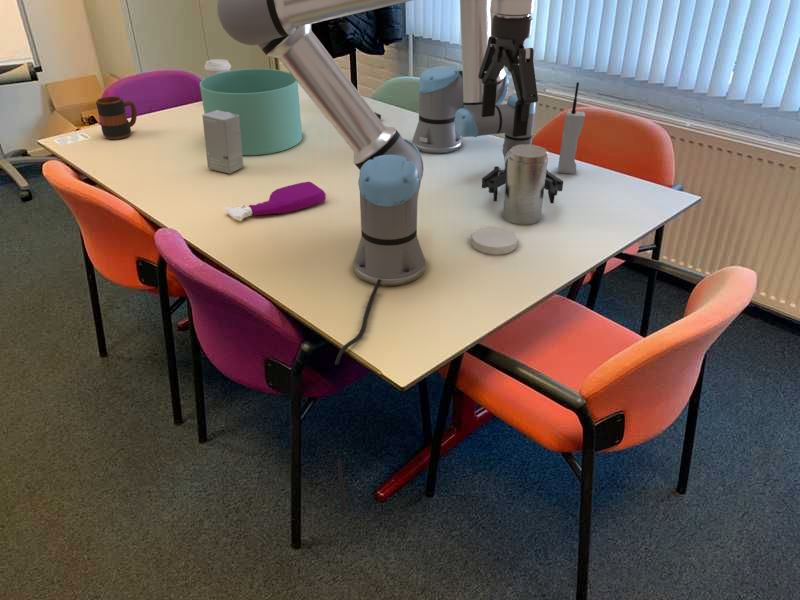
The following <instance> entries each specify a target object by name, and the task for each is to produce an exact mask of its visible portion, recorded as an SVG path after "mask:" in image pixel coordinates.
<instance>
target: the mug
mask: <svg viewBox="0 0 800 600" xmlns="http://www.w3.org/2000/svg"><path fill="white" fill-rule="evenodd" d="M95 103H96V108H97V113H98V116H99V118H100V127H101V132H102V136H104V138H105V139H108V140H122V139H125V138H128V137H129V136H131V134H132V127H134V125H135V124H136V121H137V115H138V113H137V111H138V110H137V106H136V104H135V103H134V102H133V101H132V100H127V101H123V98H122V97H120V96H104V97H101V98H98V99H97V100H96V101H95ZM128 106H130V108H131V117H130V121H129V120H128V117H127V115H126V107H128Z"/></svg>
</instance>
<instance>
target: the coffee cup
mask: <svg viewBox="0 0 800 600" xmlns="http://www.w3.org/2000/svg"><path fill="white" fill-rule="evenodd" d="M231 68H232V65H231V63H230V62H229V60H228V59H225V58H215V59H214V58H213V59H209V60H206V61H205V64H204V70H205V71H206V75H207V76H206V77H208V76H211V75H214V74H217V73H221V72H226V71H231Z"/></svg>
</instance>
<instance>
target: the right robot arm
mask: <svg viewBox="0 0 800 600" xmlns="http://www.w3.org/2000/svg"><path fill="white" fill-rule="evenodd" d="M493 3H494V0H459V13H460V14H459V16H460V39H461V40H460V41H461V44H460V45H461V69H462V70H459V68H458V67H457V66H454V65H438V66H437V65H436V66H433V67H430V68H427V69H425V70H424V71H422V73H421V74H420V76H419V85H418V123H417V125H416V128H415V130H414V133H413V137H412V143H413V144H414V145H415V146H416V147H417V149H418V150H419V152H422V153H428V154H448V153H453V152H455V151H458V150H459V149H461V147H462V138H473V137H474V138H477V137H482V136H490V135H499V134H504V142H503V144H502V155H503V161H504V169H502V168H500V166H496V165H495V166H494V167H493V169H492V170H491V171H490V172H488V173H487V174H486V175H484V176H483V177H482V178H481V188H482V189H487V188H488V190H487V191H488V193H490V194H492V195H493V202H498V193H499V187H502V186H504V185H506V176H507V165H508V156H509V154H510V149H511V148H512V147H514V146H516V145H523V144H529V145H532V142H533V130H534V123H535V116H536V102H534V103H531V104H530V109H529V118H528V124H527V133H526V135H525V136H518V137H514V136H512V135H513V125H514V114H515V103H516V102H517V101H518V98H517V94H516V93H514V94H511V95H509V96H508V97H507V95H508V92H509V87H508V86H509V77H508V74H507V72H506V67H505V66H504V67H503V69H502V71H501V72H500V74H499V76H498V77H497V82H498V83H493V84H496V85H497V89H496V102H495V115H494V116H489V117H482V103H483V88H484V84H483V83H482V79H479V77H478V75H479V71H480V68H481V65H482V62H483V59H484V56H485V53H486V49H487V45H488V38H489V36H492V34H491V32H492V18H493V17H494V15H496V14H495V13H494V12H493ZM486 72H487V71H485V72H484V73H486ZM506 97H507V102H506V103H505V104H503V102H504V101H505V99H506ZM563 188H564V180H562V179H561V178H559V177H557V176H556V175H555V174H553V173H552V172H550V171H549V169H547V171H546V179H545V186H544V190H546V191H547V194H548V199H549V203H550V204H555V196H557V195H558V192H563Z"/></svg>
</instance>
